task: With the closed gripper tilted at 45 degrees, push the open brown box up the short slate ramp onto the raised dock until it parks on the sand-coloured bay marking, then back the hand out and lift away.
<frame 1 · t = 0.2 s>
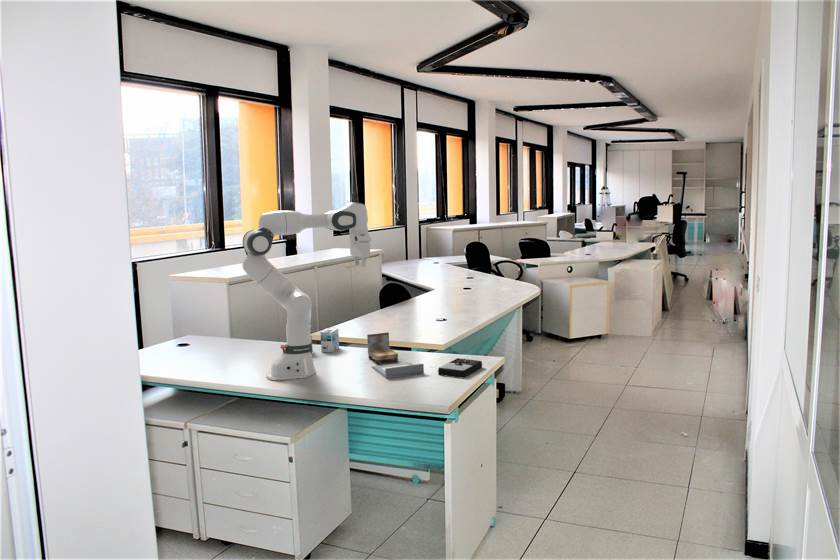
hand: (360, 266, 323), 48 cm above the table, tool pointing down, fingers open, 8 cm apart
dock: (399, 371, 316), on the table
light bulb box: (330, 350, 364), on the table
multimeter: (460, 372, 314), on the table
open brown box: (383, 360, 338), on the table
french press: (303, 352, 361), on the table
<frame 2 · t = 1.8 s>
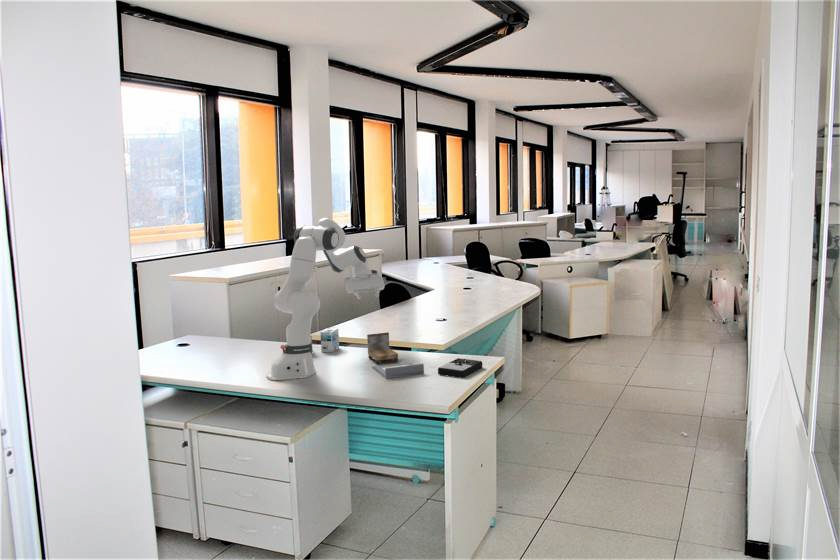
hand: (368, 297, 355), 28 cm above the table, tool tilted 45°, fingers open, 8 cm apart
nothing on the table moved.
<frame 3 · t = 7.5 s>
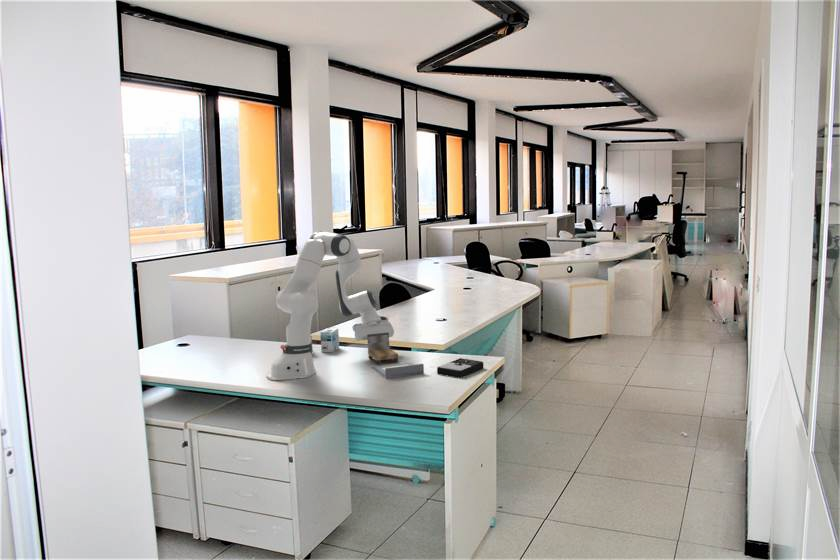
hand: (377, 344, 344), 6 cm above the table, tool tilted 45°, fingers closed, pressing on open brown box
open brown box: (383, 360, 338), on the table, touching gripper
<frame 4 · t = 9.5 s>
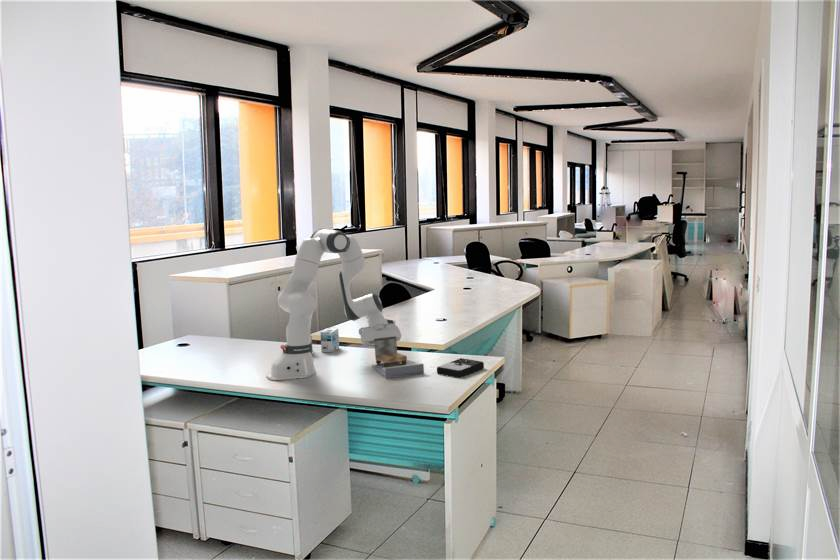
hand: (384, 349, 334), 6 cm above the table, tool tilted 45°, fingers closed, pressing on open brown box
open brown box: (391, 364, 327), point 1 cm above the table, tilted 6°, touching dock, gripper
everything else where it was.
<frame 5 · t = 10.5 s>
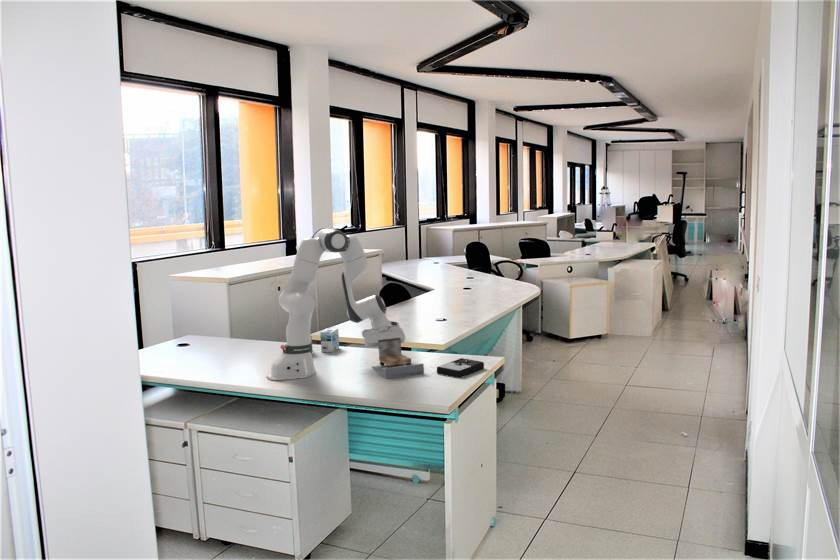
hand: (388, 351, 329), 6 cm above the table, tool tilted 45°, fingers closed, pressing on open brown box
open brown box: (395, 366, 322), point 1 cm above the table, touching gripper
everything else where it was.
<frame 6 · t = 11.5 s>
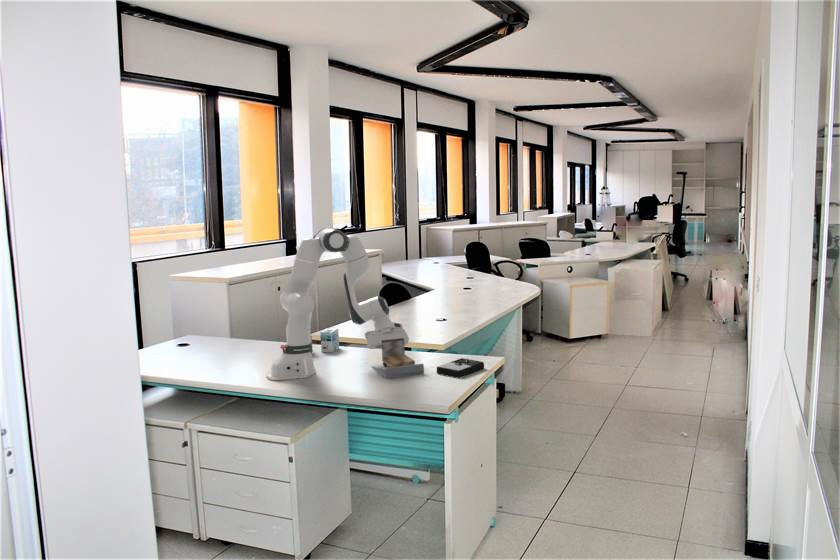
hand: (391, 353, 324), 6 cm above the table, tool tilted 45°, fingers closed, pressing on open brown box
open brown box: (398, 367, 318), point 1 cm above the table, touching dock, gripper
everything else where it was.
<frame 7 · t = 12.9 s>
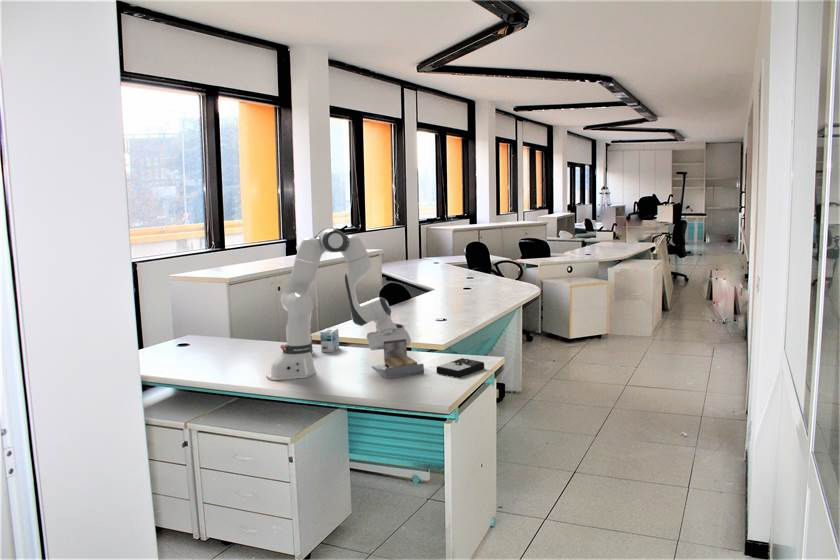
hand: (393, 354, 322), 6 cm above the table, tool tilted 45°, fingers closed, pressing on open brown box
open brown box: (400, 369, 316), point 1 cm above the table, touching dock, gripper
everything else where it was.
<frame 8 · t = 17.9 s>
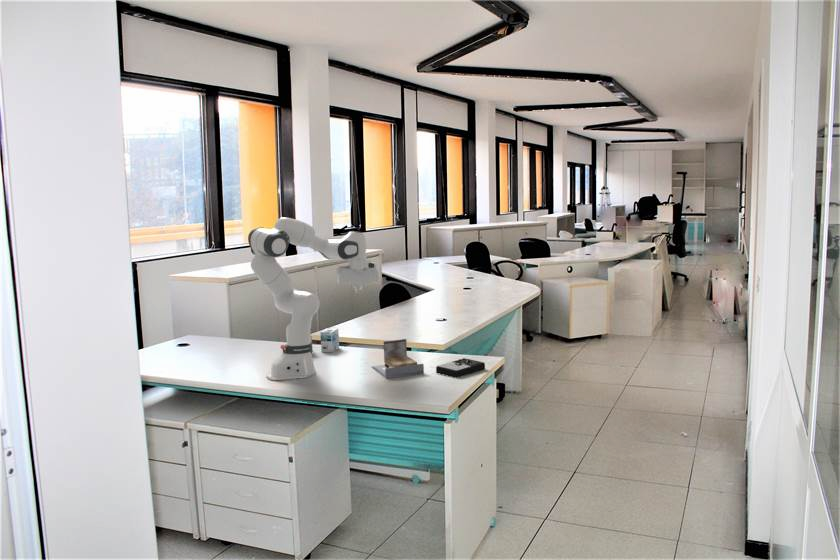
hand: (358, 293, 332), 34 cm above the table, tool pointing down, fingers closed
open brown box: (400, 369, 316), point 1 cm above the table, touching dock
at the end: open brown box inside the target area (0.8 cm from its centre), point 1.2 cm above the table; open brown box tilted 0° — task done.
